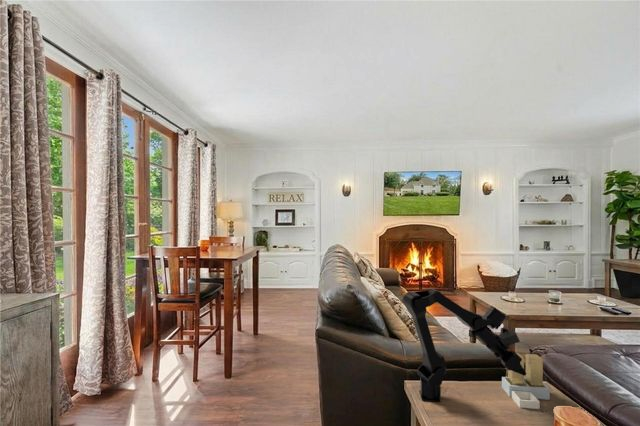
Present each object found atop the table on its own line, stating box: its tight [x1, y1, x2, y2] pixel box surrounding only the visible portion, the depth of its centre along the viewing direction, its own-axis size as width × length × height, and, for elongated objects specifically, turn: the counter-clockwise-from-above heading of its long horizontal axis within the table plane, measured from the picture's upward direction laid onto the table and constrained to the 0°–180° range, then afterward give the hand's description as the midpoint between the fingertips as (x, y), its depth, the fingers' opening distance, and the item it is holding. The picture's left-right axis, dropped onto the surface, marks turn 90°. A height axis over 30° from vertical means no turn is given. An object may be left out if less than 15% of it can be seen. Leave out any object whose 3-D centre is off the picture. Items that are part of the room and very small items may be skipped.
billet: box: [507, 352, 525, 386], centre depth 123 cm, size 4×4×12 cm
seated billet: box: [525, 353, 544, 387], centre depth 122 cm, size 4×4×12 cm
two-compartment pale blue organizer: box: [501, 376, 551, 401], centre depth 123 cm, size 14×7×4 cm, turn 82°
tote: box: [511, 391, 541, 410], centre depth 116 cm, size 6×6×2 cm
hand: (519, 368), depth 123 cm, fingers open, 9 cm apart
